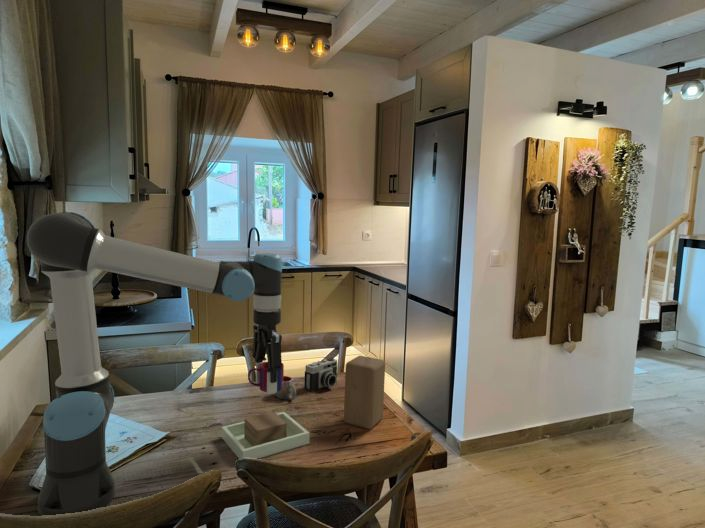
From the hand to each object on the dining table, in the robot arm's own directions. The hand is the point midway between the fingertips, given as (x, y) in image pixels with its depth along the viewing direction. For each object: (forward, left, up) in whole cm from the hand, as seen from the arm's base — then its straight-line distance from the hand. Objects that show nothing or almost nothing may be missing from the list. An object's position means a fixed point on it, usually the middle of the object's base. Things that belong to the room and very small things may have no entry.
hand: (266, 388), depth 133 cm
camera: (+37, +28, -17) cm, 49 cm away
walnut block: (0, 0, -16) cm, 16 cm away
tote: (0, 0, -16) cm, 16 cm away
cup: (0, +1, -1) cm, 1 cm away
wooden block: (+33, -3, -17) cm, 37 cm away
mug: (+20, +25, -17) cm, 36 cm away
